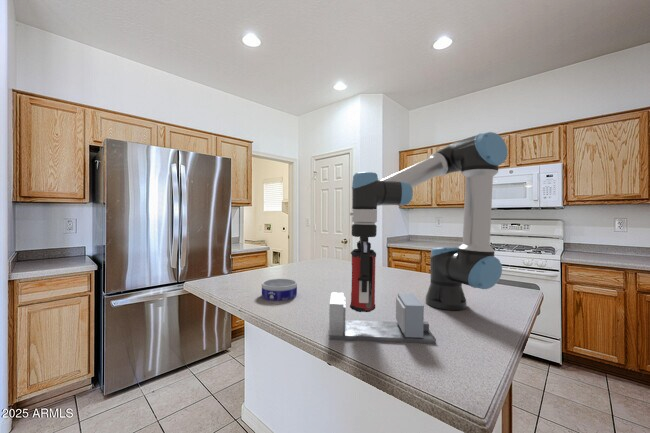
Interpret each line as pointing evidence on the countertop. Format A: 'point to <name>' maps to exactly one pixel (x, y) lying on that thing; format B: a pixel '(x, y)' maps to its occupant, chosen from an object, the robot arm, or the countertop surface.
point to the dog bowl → (279, 289)
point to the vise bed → (379, 332)
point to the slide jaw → (410, 315)
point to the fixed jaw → (337, 314)
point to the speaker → (355, 283)
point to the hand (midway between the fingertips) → (362, 298)
